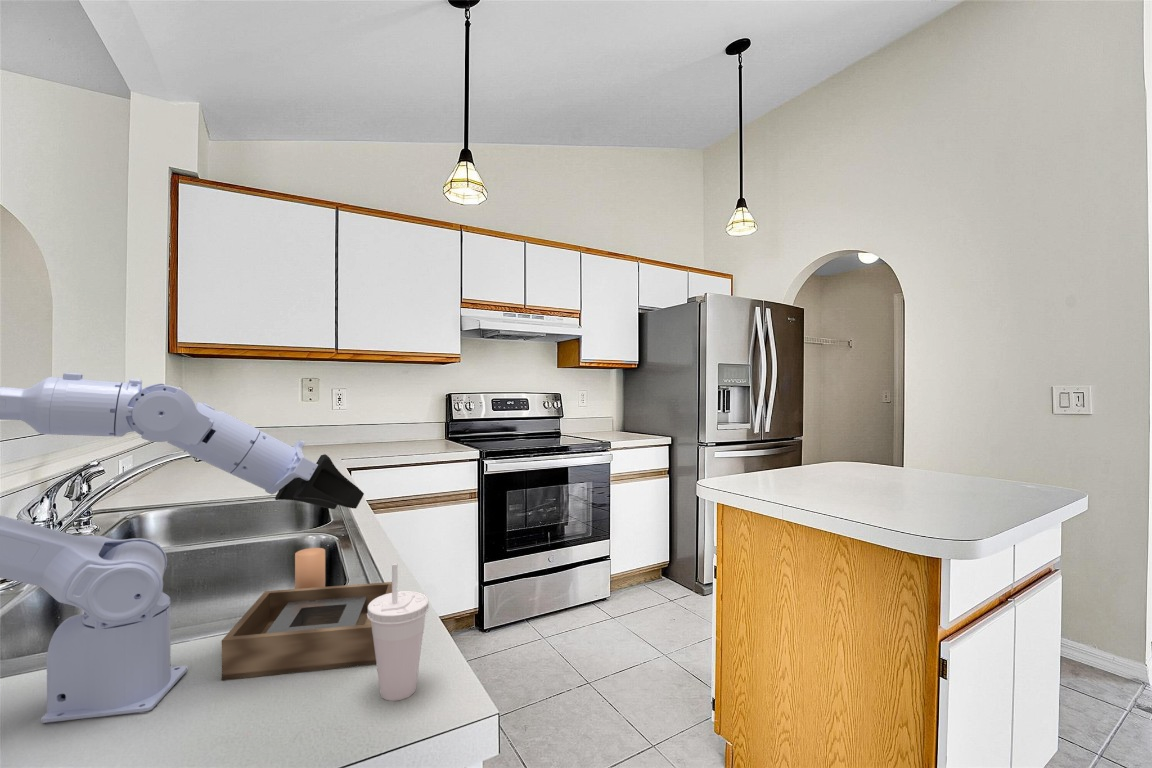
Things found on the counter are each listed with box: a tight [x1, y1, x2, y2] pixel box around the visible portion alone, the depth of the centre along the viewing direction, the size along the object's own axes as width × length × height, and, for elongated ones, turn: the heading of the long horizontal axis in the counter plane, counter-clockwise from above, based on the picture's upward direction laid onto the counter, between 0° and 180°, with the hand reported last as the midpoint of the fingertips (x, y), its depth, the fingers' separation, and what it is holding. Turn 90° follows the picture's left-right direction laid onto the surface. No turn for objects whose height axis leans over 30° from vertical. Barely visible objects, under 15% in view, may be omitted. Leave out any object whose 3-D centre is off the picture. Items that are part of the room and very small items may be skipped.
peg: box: [294, 547, 326, 589], centre depth 80 cm, size 4×4×8 cm
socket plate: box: [266, 596, 367, 633], centre depth 69 cm, size 10×10×3 cm
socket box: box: [221, 581, 392, 681], centre depth 69 cm, size 17×14×4 cm
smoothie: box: [367, 562, 430, 702], centre depth 58 cm, size 6×6×14 cm
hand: (348, 501), depth 70 cm, fingers open, 7 cm apart
